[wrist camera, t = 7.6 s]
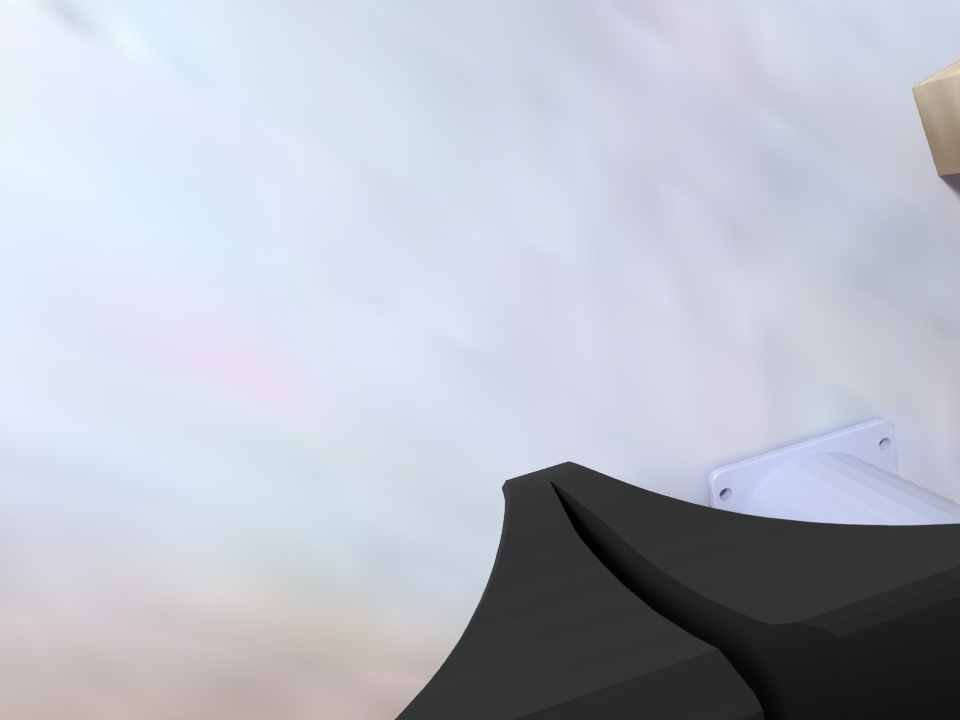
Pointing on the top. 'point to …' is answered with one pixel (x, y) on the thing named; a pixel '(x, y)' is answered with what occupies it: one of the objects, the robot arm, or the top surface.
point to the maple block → (941, 117)
